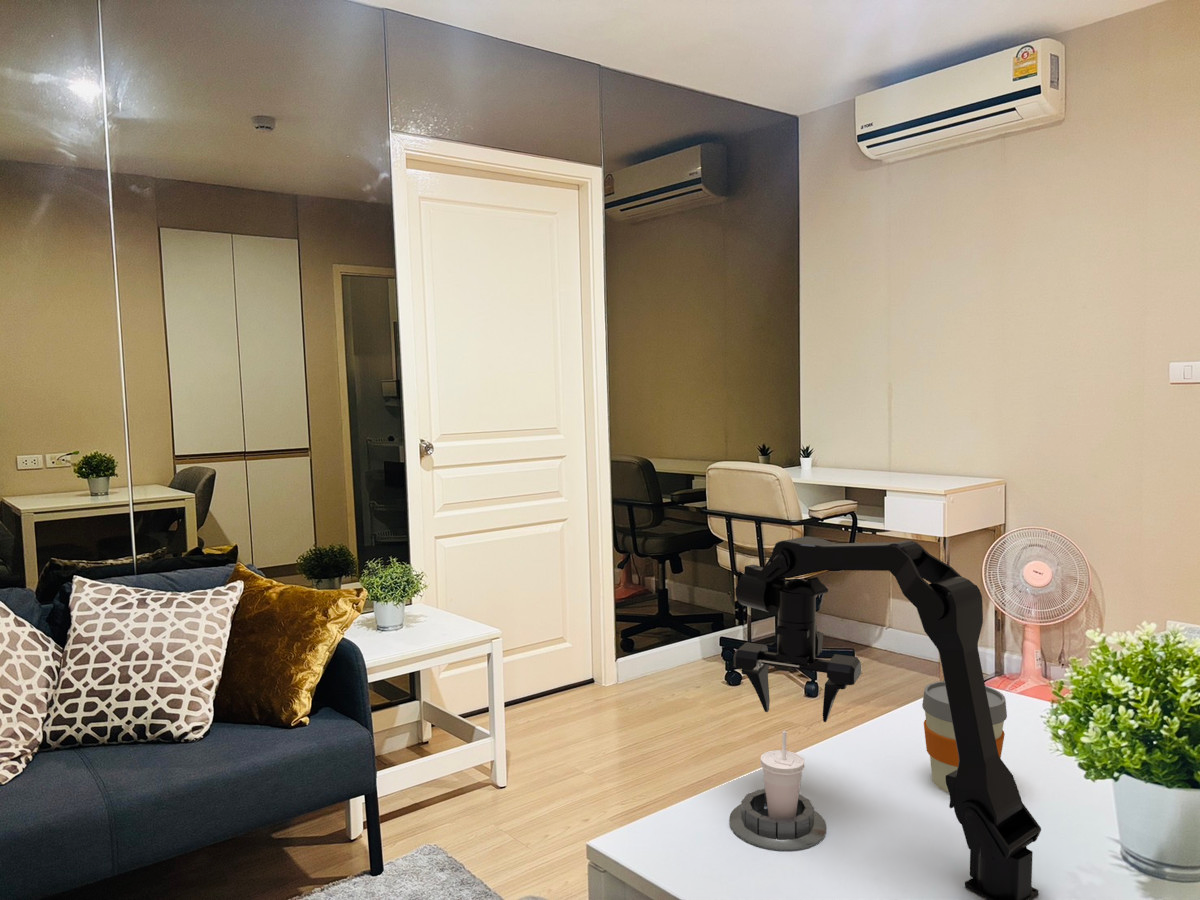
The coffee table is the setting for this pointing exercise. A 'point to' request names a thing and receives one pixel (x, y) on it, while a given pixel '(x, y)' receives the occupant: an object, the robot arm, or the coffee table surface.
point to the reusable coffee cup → (942, 731)
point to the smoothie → (782, 781)
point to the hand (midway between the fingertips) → (795, 716)
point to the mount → (777, 824)
